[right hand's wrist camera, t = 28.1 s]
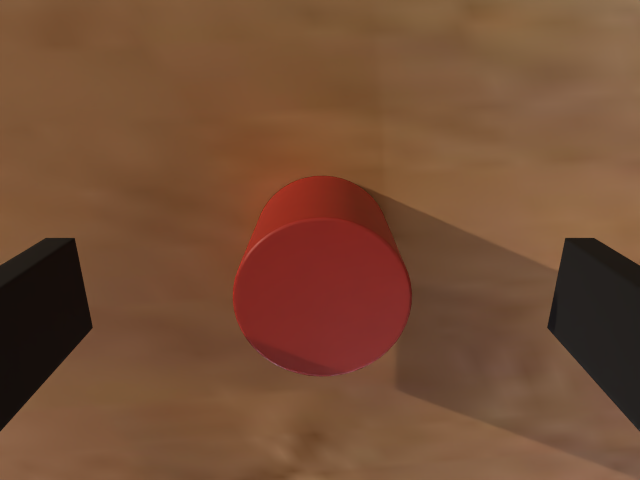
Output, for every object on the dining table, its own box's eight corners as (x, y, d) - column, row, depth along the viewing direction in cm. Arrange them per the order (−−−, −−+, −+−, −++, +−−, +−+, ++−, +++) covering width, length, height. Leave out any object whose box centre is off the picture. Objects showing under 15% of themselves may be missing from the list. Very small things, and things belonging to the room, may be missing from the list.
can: (311, 146, 14) (307, 179, 10) (415, 231, 15) (450, 291, 11) (230, 249, 15) (196, 314, 11) (330, 320, 16) (334, 405, 12)
